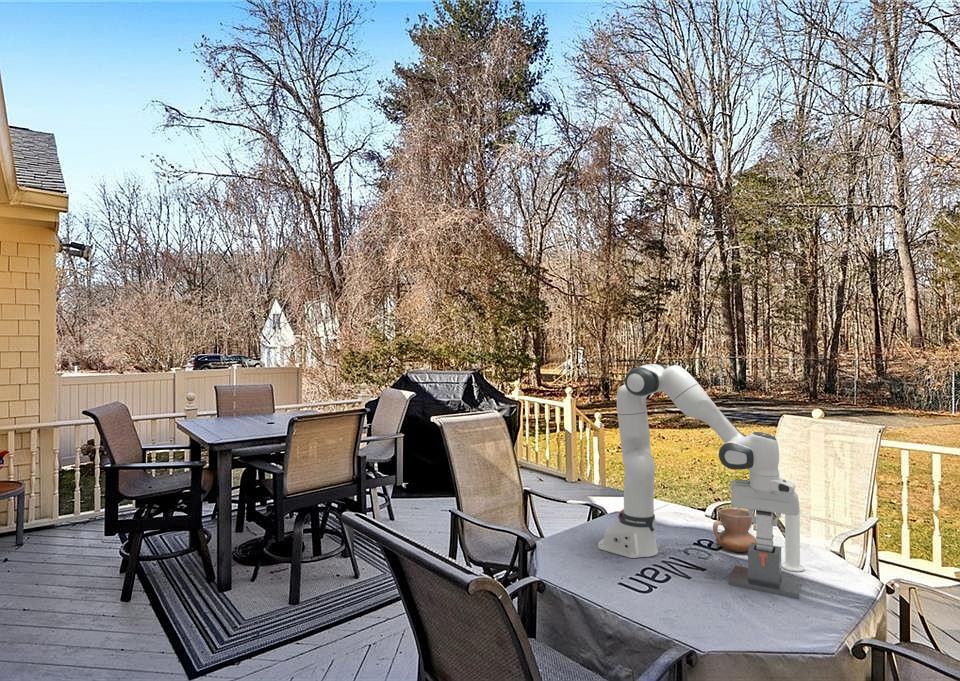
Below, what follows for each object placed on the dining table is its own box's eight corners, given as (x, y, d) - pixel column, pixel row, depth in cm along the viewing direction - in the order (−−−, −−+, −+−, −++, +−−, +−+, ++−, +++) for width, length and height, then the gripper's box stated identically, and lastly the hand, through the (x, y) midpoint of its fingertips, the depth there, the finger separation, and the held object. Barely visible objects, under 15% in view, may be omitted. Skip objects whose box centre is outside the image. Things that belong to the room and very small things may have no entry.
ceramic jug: (746, 541, 227) (745, 505, 227) (769, 554, 212) (767, 515, 212) (703, 544, 225) (702, 508, 225) (723, 557, 210) (722, 518, 210)
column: (755, 560, 186) (755, 511, 186) (757, 555, 190) (757, 508, 190) (772, 563, 184) (771, 514, 184) (773, 558, 188) (773, 510, 188)
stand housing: (728, 584, 186) (728, 549, 186) (735, 569, 198) (734, 536, 198) (798, 598, 176) (798, 561, 176) (800, 582, 188) (800, 547, 188)
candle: (803, 566, 201) (802, 495, 201) (805, 573, 195) (804, 500, 195) (780, 562, 204) (780, 493, 204) (781, 570, 198) (781, 498, 198)
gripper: (728, 480, 190) (729, 521, 190) (798, 488, 179) (799, 532, 179) (731, 476, 195) (731, 516, 195) (799, 484, 184) (800, 526, 184)
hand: (764, 524), depth 187 cm, fingers closed on column, 4 cm apart
